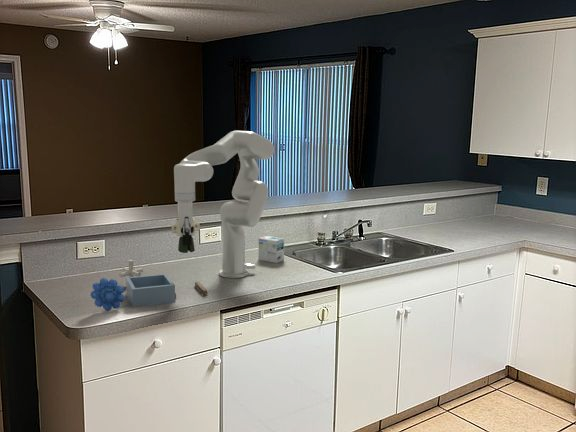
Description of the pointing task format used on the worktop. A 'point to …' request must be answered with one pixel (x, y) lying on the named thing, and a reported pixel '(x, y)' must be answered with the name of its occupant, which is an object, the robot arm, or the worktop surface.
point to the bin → (150, 290)
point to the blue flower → (107, 294)
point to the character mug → (179, 232)
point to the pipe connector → (130, 271)
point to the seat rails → (199, 288)
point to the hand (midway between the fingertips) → (186, 242)
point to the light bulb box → (271, 249)
